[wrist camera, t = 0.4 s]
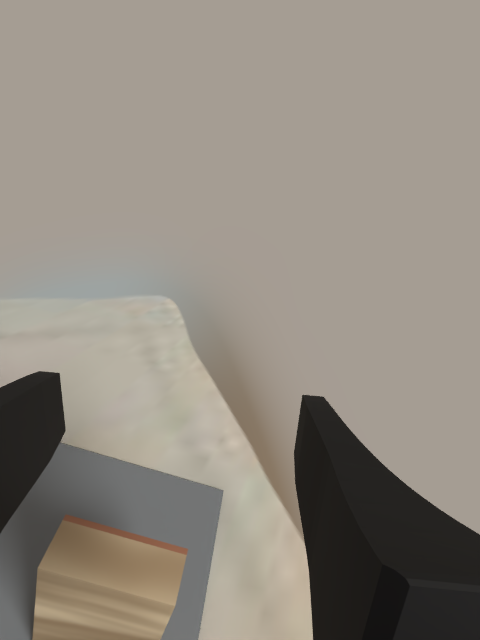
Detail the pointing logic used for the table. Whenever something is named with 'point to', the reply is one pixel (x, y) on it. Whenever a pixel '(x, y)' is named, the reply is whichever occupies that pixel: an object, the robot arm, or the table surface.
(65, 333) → the table surface
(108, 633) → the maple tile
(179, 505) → the rubber mat
